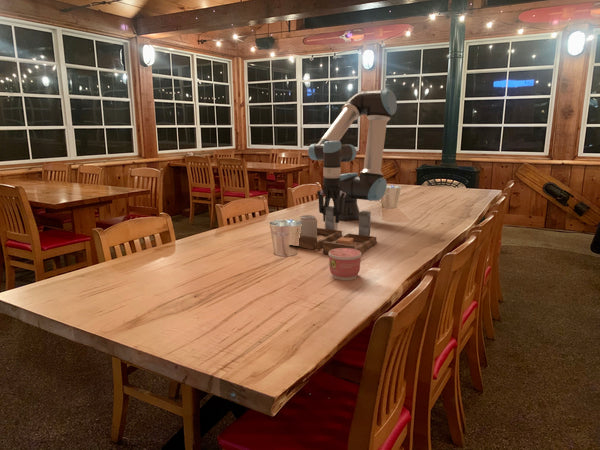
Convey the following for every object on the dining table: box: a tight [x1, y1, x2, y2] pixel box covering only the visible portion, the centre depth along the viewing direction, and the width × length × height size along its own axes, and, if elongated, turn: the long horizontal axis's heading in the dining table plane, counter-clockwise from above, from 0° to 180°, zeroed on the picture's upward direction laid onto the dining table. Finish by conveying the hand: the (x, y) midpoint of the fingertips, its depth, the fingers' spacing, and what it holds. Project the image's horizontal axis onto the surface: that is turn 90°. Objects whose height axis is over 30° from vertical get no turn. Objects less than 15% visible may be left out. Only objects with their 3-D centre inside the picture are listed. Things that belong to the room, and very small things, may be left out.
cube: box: [337, 236, 354, 245], centre depth 168 cm, size 5×5×5 cm
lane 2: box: [322, 210, 378, 255], centre depth 173 cm, size 28×12×12 cm, turn 150°
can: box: [298, 214, 318, 239], centre depth 176 cm, size 8×8×12 cm
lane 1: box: [298, 205, 343, 251], centre depth 184 cm, size 28×12×12 cm, turn 150°
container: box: [328, 248, 362, 281], centre depth 140 cm, size 10×10×8 cm
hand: (331, 229), depth 195 cm, fingers closed on lane 1, 3 cm apart
